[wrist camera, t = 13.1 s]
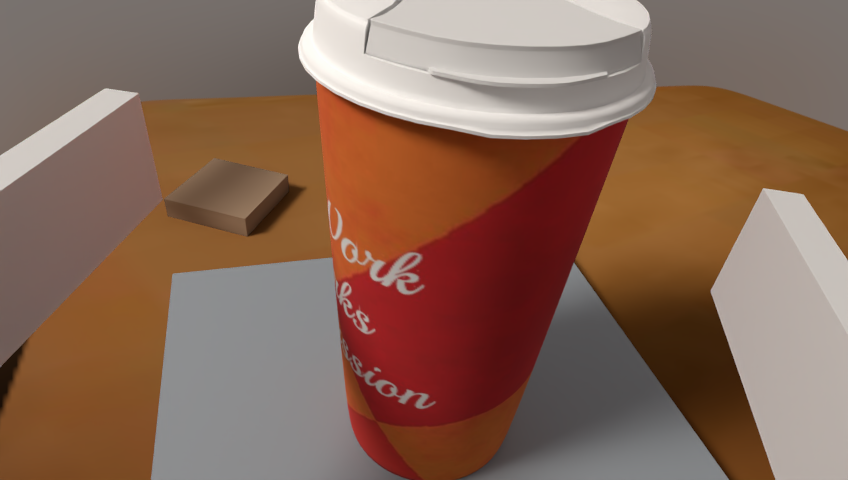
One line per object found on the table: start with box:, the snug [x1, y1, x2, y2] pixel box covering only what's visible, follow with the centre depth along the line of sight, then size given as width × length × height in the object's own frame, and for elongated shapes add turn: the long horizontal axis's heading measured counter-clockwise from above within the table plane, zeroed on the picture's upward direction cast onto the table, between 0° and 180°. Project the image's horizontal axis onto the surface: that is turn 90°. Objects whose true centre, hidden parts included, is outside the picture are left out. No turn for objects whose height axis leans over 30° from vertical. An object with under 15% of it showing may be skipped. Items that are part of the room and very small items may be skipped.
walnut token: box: [164, 158, 289, 236], centre depth 31 cm, size 4×4×2 cm
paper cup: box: [298, 0, 657, 480], centre depth 16 cm, size 8×8×14 cm
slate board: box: [151, 258, 729, 480], centre depth 21 cm, size 18×18×1 cm
